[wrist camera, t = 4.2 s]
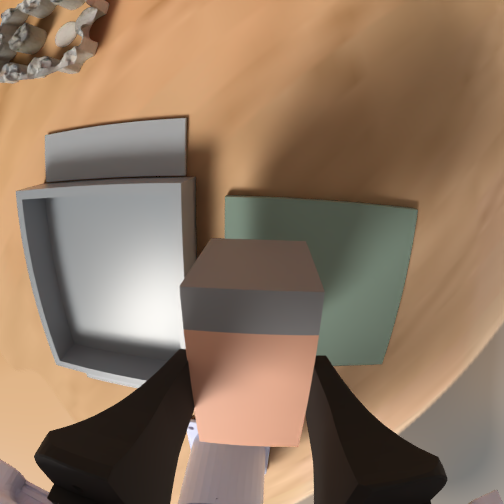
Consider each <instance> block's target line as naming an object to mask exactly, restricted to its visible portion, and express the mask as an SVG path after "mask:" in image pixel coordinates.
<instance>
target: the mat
mask: <svg viewBox="0 0 504 504" xmlns="http://www.w3.org/2000/svg"><path fill="white" fill-rule="evenodd" d="M417 213H418V210H417V209H415V208H409V207H399V206H390V205H380V204H369V203H357V202H345V201H332V200H318V199H302V198H285V197H264V196H237V195H226V196H225V239H255V240H285V241H306V243H307V245H308V248H309V251H310V253H311V256H312V259H313V261H314V264H315V267H316V269H317V272H318V275H319V277H320V280H321V283H322V285H323V288H324V291H325V295H324V303H323V310H322V318H321V325H320V332H319V339H318V345H317V352H316V355H326V356H327V357H328V359H329V361H330V362H331V364H332V365H333V366H346V365H374V364H382V362H383V359H384V356H385V353H386V350H387V347H388V344H389V340H390V337H391V334H392V330H393V327H394V323H395V319H396V316H397V312H398V308H399V304H400V300H401V296H402V292H403V288H404V284H405V279H406V275H407V270H408V265H409V260H410V255H411V250H412V244H413V239H414V233H415V226H416V220H417Z"/></svg>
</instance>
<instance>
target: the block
mask: <svg viewBox="0 0 504 504" xmlns="http://www.w3.org/2000/svg"><path fill="white" fill-rule="evenodd" d="M179 287H180V299H181V310H182V320H183V329H184V338H185V347H186V355H187V361H188V364H189V371H190V379H191V386H192V393H193V400H194V407H195V408H194V412H195V418H196V424H197V429H198V435H199V441H200V442H209V443H218V444H230V445H243V446H265V447H298V446H299V442H300V437H301V433H302V428H303V423H304V418H305V413H306V408H307V403H308V398H309V392H310V387H311V381H312V375H313V370H314V364H315V358H316V352H317V345H318V339H319V332H320V325H321V318H322V310H323V303H324V295H325V291H324V288H323V285H322V283H321V280H320V277H319V275H318V272H317V269H316V267H315V264H314V261H313V259H312V256H311V253H310V251H309V248H308V245H307V243H306V241H285V240H255V239H221V238H211V239H210V240H209V242H208V243H207V245H206V246H205V248H204V249H203V251H202V252H201V254H200V255H199V257H198V258H197V260H196V261H195V263H194V265H193V266H192V268H191V269H190V271H189V272H188V274H187V275H186V277H185V278H184V280H183V282H182V283H181V285H180V286H179Z"/></svg>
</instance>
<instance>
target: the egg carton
mask: <svg viewBox="0 0 504 504" xmlns="http://www.w3.org/2000/svg"><path fill="white" fill-rule="evenodd" d="M85 2H87V4H88V5H90V6H91V7H89V8H87V9H85V10H84V11H83V12H82V13H81V15H80V16H79V17H78V19H77V20H76V22H71V21H70V22H67V23H66V24H64V25H63V26H62V27H61V28H60V29H59V31H58V32H57V34H56V37H55V43H56V45H57V46H58V47H66V46H68V45H69V44H70V43H71V42H72V41H73V40H74V39H75V38H76V36H77V34H78V35H80V36H82V41H81V43H80V45H79V46H77V47H75V46H74V47H73V48H72V49H71V50H68V51H67V52H66V53H65V54H64V57H63V58H62V59H61V60H58V59H55V58H51V57H48V56H44V57H40V58H36V57H34V58H33V59H32V61H31V62H30V64H29V65H28V66H27V65H22V64H17V63H13V62H11V63H9V61H10V60H11V59H13V58H14V56H15V55H16V54H17V52H21V53H26V54H30V55H33V54H35V53H37V52H38V51H39V50H40V49H41V48H42V47H43V45H44V43H45V41H46V36H47V33H46V31H45V30H43V29H41V28H38V27H36V26H33V25H30V24H28V23H24V22H25V21H26V19H27V18H28V16H29V15H32V16H35V17H37V18H45V17H47V16H48V15H49V14H51V13H52V11H53V10H54V9H55V7H56V6H57V5H60V6H62V7H64V8H66V9H69V10H75V9H77V8H79V7H80V6H82V5H83V4H84V3H85ZM108 7H109V3H108V2H107V1H105V0H24V1H23V2H22V3H20V4H18V5H17V7H16V8H10V9H7V10H6V11H5V12H3V13H2V14H1V18H2V22H1V25H0V82H2V83H17V82H18V81H19V80H23V79H34V78H44V77H46V75H48V74H51V73H53V72H56V71H60V72H64V73H69V74H73V73H78V72H79V71H80V69H81V66H82V65H83V63H84V62H85V61H86V60H87V59H88V58H90V57H92V56H94V55H95V53H96V50H97V47H98V43H97V42H95V41H92V40H91V39H90V38H89V30H90V27H91V25H92V24H93V23H94V21H95V20H96V19H98V18H99V17H101V16H103V15H106V13H107V10H108ZM23 23H24V24H23ZM22 24H23V25H22ZM20 25H22V26H20ZM19 26H20V27H19ZM18 27H19V28H18ZM17 28H18V29H17Z"/></svg>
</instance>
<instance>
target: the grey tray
mask: <svg viewBox="0 0 504 504" xmlns="http://www.w3.org/2000/svg"><path fill="white" fill-rule="evenodd" d="M186 135H187V118H177V119H161V120H148V121H137V122H127V123H118V124H110V125H103V126H96V127H89V128H83V129H76V130H71V131H65V132H60V133H55V134H50V135H45V165H46V182H55V181H67V180H80V179H95V178H113V177H137V176H185V175H186ZM16 198H17V208H18V216H19V223H20V230H21V237H22V243H23V248H24V254H25V259H26V264H27V268H28V273H29V277H30V281H31V286H32V290H33V293H34V297H35V301H36V305H37V308H38V312H39V315H40V318H41V322H42V325H43V328H44V331H45V334H46V337H47V340H48V343H49V346H50V349H51V351H52V354H53V357H54V359H55V362H56V365H59V366H62V367H66V368H69V369H73V370H77V371H80V372H84V373H86V374H87V377H90V378H93V379H97V380H102V381H106V382H110V383H115V384H119V385H124V386H129V387H133V388H139V387H140V386H141V385H142V384H144V383H145V382H146V381H147V380H148V379H149V378H151V377H152V376H153V375H154V374H155V373H156V372H157V371H158V370H159V369H160V368H161V367H162V366H163V365H164V364H165V363H166V362H167V361H168V360H169V359H170V358H171V357H172V356H173V355H174V354H175V353H176V352H177V351H178V350H179V349H186V347H185V338H184V329H183V320H182V310H181V299H180V287H179V286H180V285H181V283H182V282H183V280H184V278H185V277H186V275H187V274H188V272H189V271H190V269H191V268H192V266H193V265H194V263H195V261H196V260H197V240H196V177H140V178H114V179H95V180H80V181H67V182H55V183H44V184H40V185H36V186H33V187H29V188H25V189H22V190H18V191H16Z"/></svg>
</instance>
